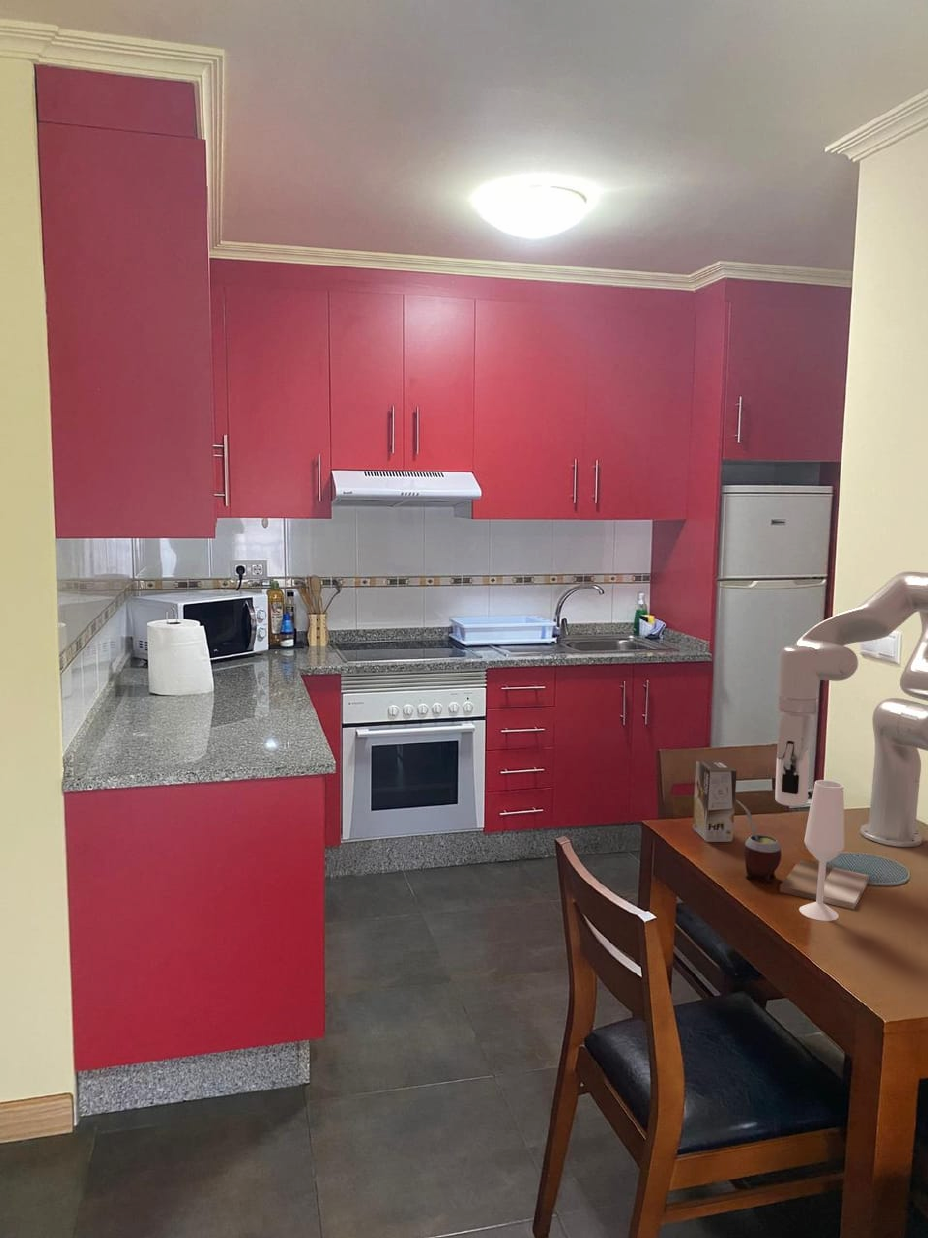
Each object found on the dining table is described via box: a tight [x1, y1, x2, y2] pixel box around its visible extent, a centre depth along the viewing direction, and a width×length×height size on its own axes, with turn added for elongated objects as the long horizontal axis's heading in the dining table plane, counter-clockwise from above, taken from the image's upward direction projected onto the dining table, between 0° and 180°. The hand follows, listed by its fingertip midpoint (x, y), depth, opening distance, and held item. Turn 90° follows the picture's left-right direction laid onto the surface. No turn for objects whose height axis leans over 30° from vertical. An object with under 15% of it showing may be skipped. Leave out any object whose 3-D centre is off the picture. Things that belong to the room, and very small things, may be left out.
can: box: [774, 748, 810, 808], centre depth 190 cm, size 6×6×12 cm
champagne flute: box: [798, 779, 845, 922], centre depth 162 cm, size 7×7×24 cm
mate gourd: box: [735, 799, 782, 886], centre depth 178 cm, size 8×8×15 cm
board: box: [779, 859, 870, 910], centre depth 175 cm, size 16×13×1 cm
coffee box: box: [692, 759, 738, 843], centre depth 201 cm, size 9×6×16 cm
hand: (793, 787), depth 191 cm, fingers closed on can, 6 cm apart
